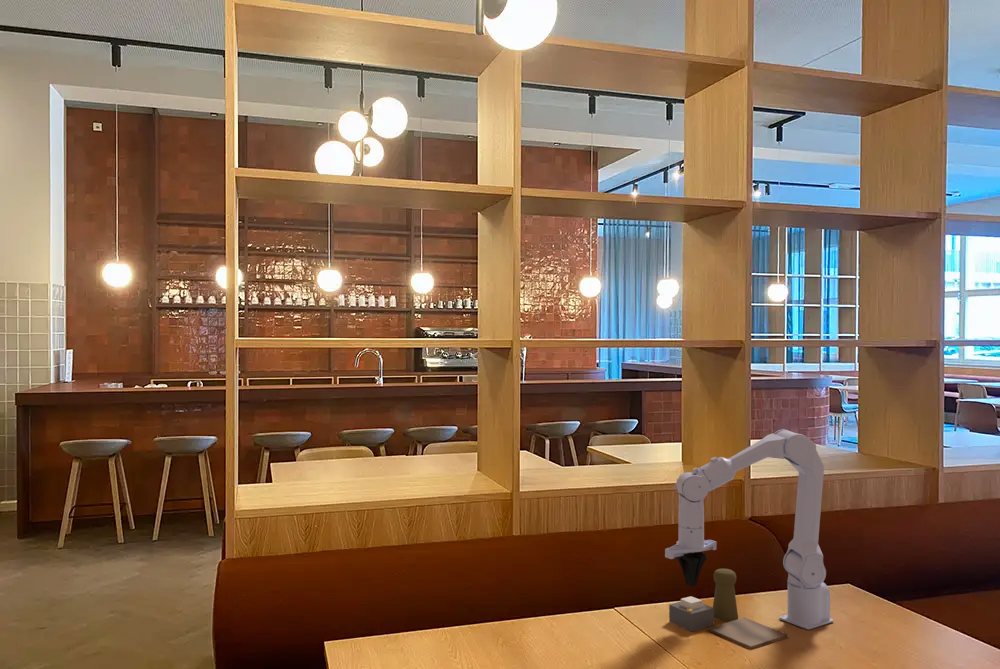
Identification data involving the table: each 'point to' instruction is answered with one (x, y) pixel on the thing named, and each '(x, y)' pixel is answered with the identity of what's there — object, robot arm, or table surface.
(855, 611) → the table surface
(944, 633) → the table surface
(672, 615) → the switch box
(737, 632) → the coaster
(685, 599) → the button
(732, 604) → the olive green pawn
